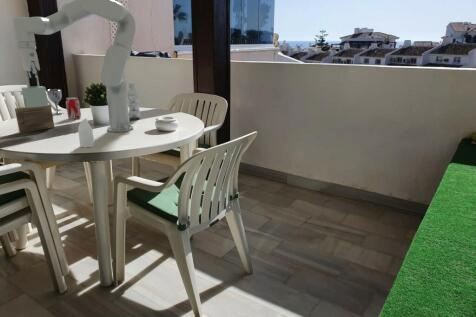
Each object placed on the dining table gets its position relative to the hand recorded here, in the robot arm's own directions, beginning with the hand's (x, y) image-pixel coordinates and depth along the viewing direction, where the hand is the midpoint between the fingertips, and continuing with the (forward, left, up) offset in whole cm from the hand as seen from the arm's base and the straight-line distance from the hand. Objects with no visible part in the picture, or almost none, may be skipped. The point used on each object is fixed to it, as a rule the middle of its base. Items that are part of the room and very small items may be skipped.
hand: (33, 85), depth 169 cm
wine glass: (+43, -23, -23) cm, 54 cm away
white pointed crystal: (-41, -5, -23) cm, 47 cm away
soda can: (+22, -25, -23) cm, 41 cm away
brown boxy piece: (+8, 0, -23) cm, 24 cm away
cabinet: (0, 0, -10) cm, 10 cm away
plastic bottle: (-3, -50, -23) cm, 55 cm away
